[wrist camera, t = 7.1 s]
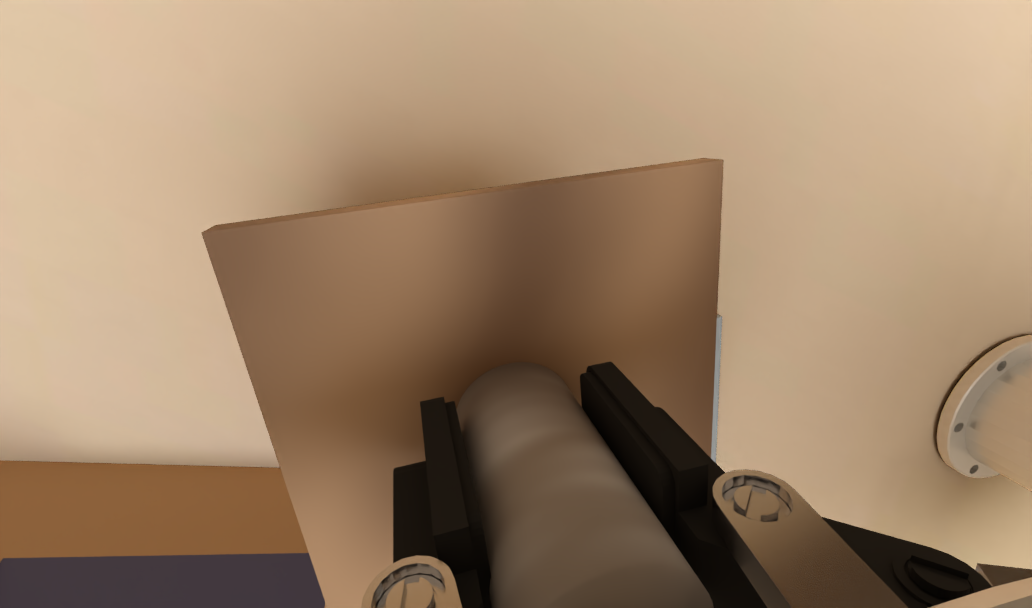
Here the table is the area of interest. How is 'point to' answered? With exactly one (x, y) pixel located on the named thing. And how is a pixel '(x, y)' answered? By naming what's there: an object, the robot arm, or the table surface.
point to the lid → (485, 367)
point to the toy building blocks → (150, 538)
